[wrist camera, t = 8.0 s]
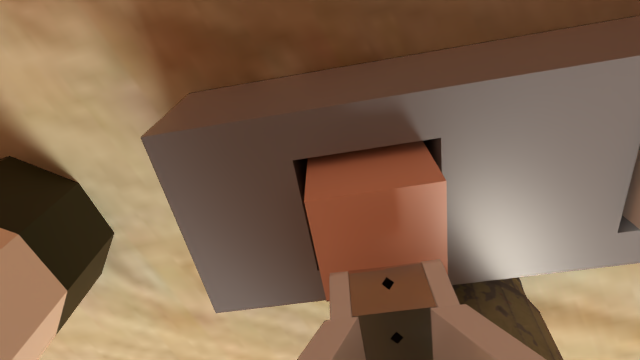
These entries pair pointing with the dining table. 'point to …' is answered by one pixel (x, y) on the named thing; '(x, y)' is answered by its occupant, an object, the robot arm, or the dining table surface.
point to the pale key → (633, 196)
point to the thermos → (510, 312)
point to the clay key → (376, 209)
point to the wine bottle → (44, 255)
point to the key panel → (441, 141)
